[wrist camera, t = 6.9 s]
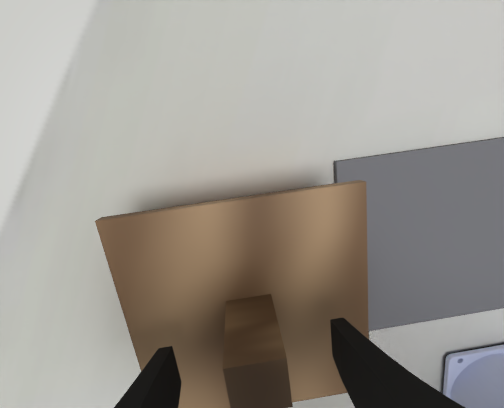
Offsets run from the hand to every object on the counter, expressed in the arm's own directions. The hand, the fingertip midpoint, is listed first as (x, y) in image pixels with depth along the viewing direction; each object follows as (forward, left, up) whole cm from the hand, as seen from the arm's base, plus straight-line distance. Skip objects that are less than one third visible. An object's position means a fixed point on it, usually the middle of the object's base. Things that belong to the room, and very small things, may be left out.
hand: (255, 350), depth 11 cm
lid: (0, 0, -3) cm, 3 cm away
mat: (-14, 0, -7) cm, 16 cm away
